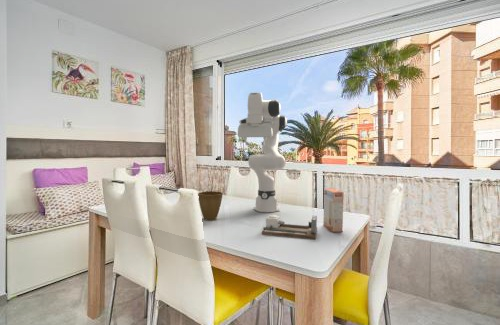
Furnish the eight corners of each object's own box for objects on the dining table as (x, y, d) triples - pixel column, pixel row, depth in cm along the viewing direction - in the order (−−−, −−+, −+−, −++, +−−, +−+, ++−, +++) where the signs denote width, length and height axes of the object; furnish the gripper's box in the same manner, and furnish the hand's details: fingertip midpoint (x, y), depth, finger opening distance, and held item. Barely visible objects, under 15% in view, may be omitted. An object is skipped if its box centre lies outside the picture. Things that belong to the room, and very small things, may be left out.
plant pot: (216, 223, 157) (216, 195, 156) (193, 220, 162) (193, 194, 161) (226, 217, 171) (226, 191, 170) (205, 215, 176) (205, 190, 175)
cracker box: (343, 232, 141) (344, 192, 140) (331, 232, 140) (332, 192, 139) (333, 224, 155) (334, 188, 153) (323, 224, 154) (323, 188, 153)
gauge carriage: (268, 224, 147) (269, 213, 147) (285, 225, 145) (285, 215, 144) (264, 229, 138) (264, 218, 137) (282, 231, 135) (282, 220, 135)
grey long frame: (267, 224, 149) (267, 211, 149) (316, 228, 142) (316, 215, 141) (263, 229, 139) (263, 216, 139) (315, 234, 132) (315, 220, 132)
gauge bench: (268, 226, 151) (268, 222, 151) (316, 230, 144) (316, 227, 144) (262, 234, 137) (262, 230, 137) (315, 239, 130) (315, 235, 130)
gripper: (274, 121, 156) (274, 145, 156) (240, 121, 162) (240, 145, 162) (271, 119, 150) (271, 145, 150) (236, 120, 156) (236, 145, 156)
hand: (255, 145), depth 156 cm, fingers open, 8 cm apart
